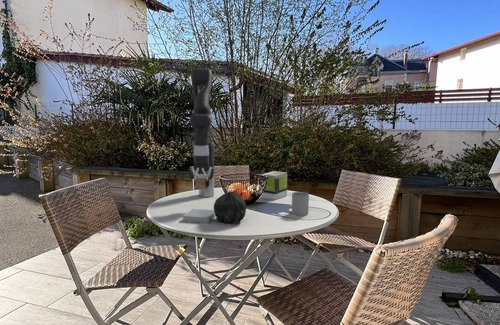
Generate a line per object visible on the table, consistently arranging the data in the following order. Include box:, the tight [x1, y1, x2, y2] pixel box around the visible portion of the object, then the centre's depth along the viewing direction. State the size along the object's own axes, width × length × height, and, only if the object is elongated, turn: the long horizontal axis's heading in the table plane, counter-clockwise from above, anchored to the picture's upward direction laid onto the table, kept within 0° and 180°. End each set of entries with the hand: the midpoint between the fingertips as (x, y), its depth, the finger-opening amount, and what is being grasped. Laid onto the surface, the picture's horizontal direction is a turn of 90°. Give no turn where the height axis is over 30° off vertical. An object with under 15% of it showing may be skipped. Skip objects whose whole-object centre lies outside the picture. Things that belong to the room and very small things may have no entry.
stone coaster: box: [183, 208, 216, 224], centre depth 147 cm, size 12×12×2 cm
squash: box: [213, 191, 247, 224], centre depth 143 cm, size 14×15×15 cm
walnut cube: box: [195, 176, 206, 190], centre depth 160 cm, size 5×5×5 cm
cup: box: [291, 191, 310, 217], centre depth 156 cm, size 8×8×10 cm
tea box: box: [260, 170, 288, 201], centre depth 190 cm, size 15×10×15 cm, turn 144°
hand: (201, 186), depth 160 cm, fingers closed on walnut cube, 5 cm apart
